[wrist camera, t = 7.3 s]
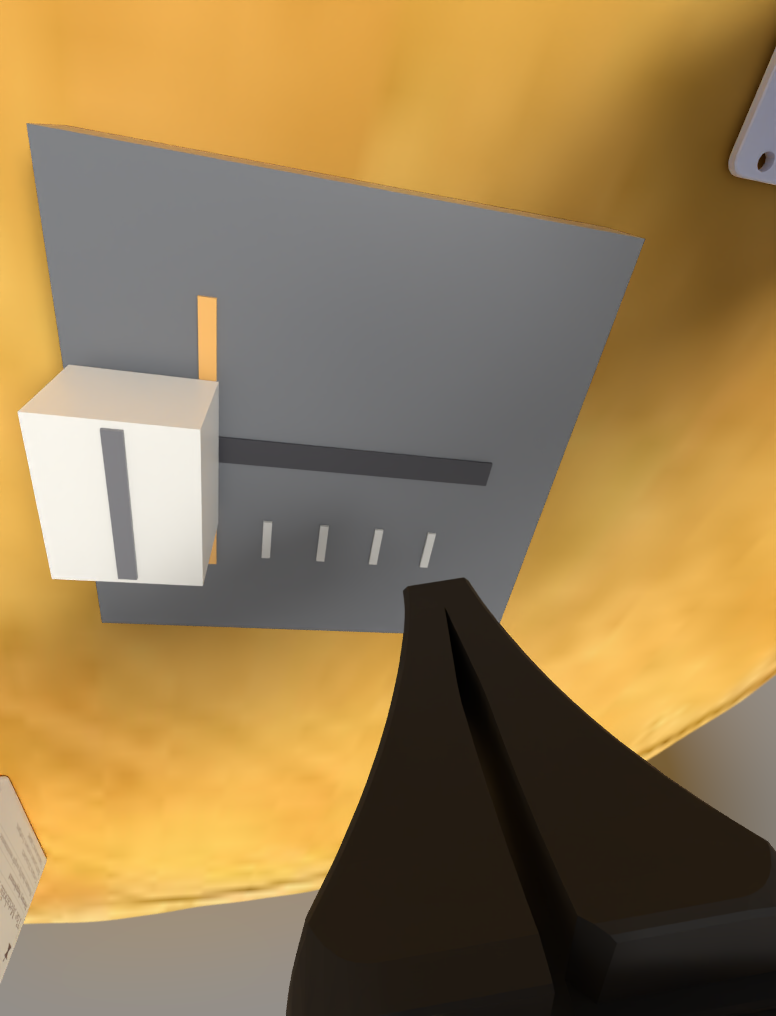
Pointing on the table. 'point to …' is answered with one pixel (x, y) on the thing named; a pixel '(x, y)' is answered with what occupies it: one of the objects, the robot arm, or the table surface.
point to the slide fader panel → (332, 367)
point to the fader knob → (125, 474)
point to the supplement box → (15, 869)
